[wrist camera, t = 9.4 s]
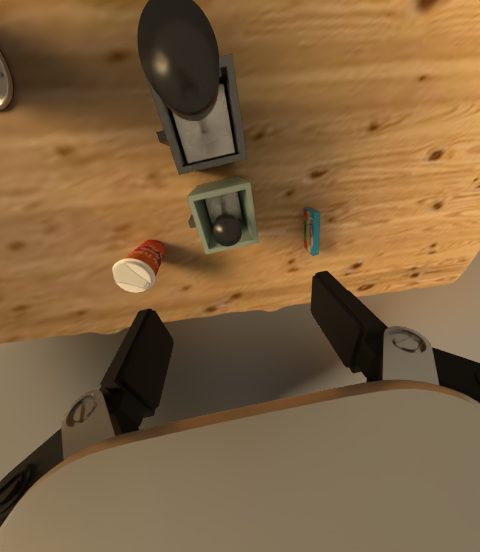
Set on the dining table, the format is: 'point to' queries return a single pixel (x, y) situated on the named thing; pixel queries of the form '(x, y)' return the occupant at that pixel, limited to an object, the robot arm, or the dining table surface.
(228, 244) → the glossy black knobbed rod
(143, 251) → the coffee cup
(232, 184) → the green press
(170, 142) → the box
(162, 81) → the charcoal plunger
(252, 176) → the dining table surface
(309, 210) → the blue cardboard box
